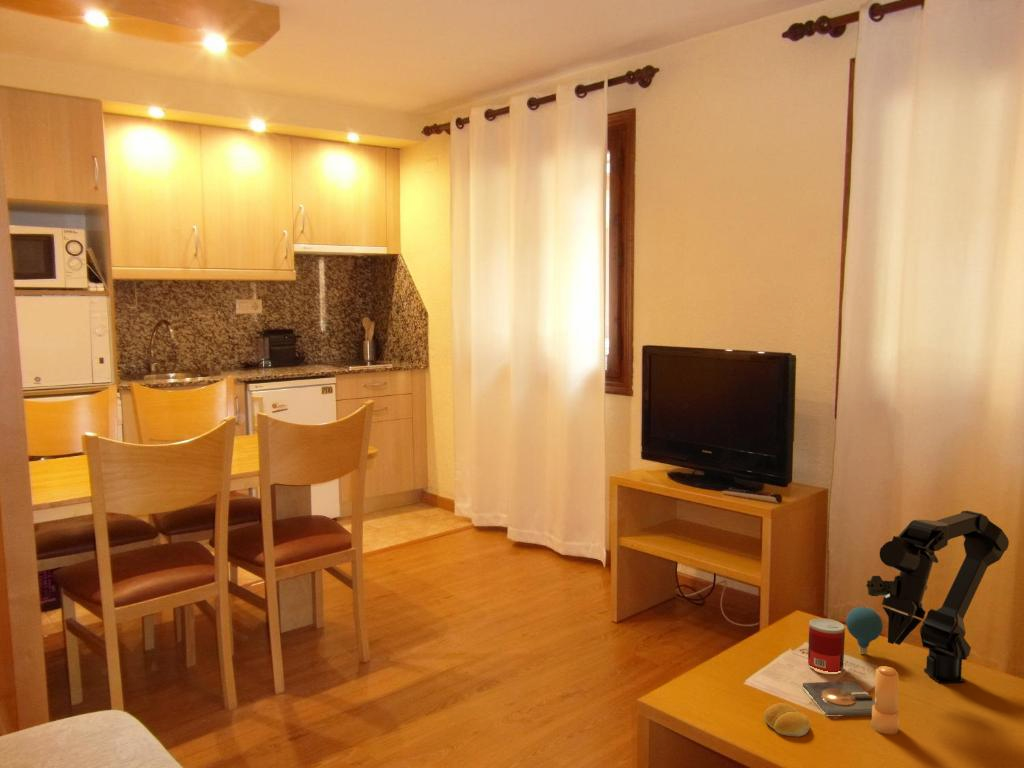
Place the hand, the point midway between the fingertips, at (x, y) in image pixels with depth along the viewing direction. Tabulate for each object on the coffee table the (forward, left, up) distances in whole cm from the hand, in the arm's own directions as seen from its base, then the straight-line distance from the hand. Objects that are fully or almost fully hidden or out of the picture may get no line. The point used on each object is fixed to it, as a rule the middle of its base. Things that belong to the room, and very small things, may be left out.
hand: (893, 643), depth 171 cm
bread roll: (+28, +10, -13) cm, 33 cm away
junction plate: (+12, +1, -13) cm, 18 cm away
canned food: (+8, -15, -13) cm, 21 cm away
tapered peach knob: (+8, +12, -13) cm, 19 cm away
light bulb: (-5, -22, -13) cm, 26 cm away
